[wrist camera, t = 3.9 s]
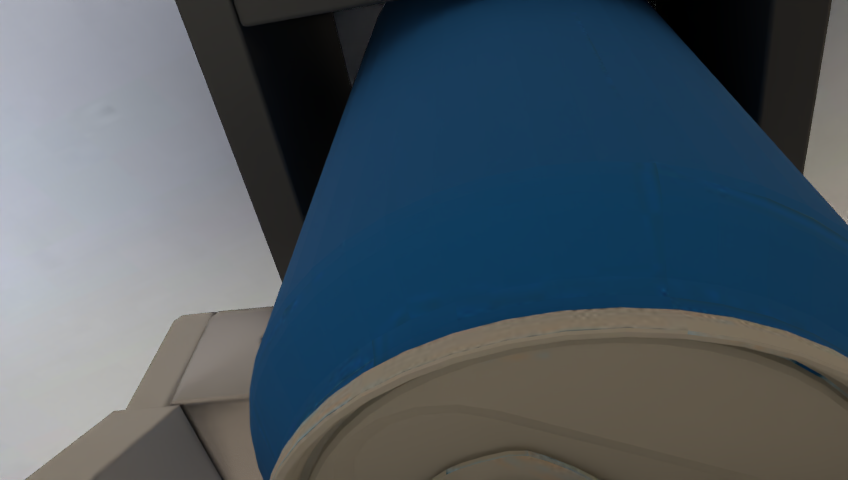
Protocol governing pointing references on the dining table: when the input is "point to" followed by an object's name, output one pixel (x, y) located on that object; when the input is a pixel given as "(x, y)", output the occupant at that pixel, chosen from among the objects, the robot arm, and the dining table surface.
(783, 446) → the beverage can
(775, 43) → the can holder
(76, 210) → the dining table surface
